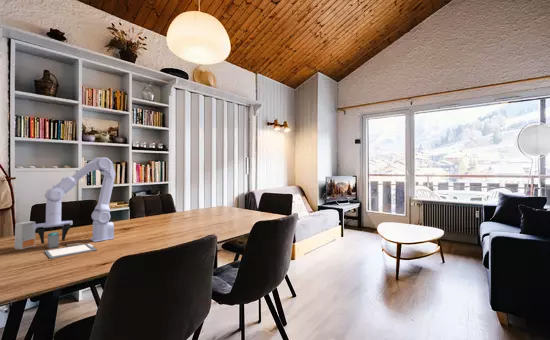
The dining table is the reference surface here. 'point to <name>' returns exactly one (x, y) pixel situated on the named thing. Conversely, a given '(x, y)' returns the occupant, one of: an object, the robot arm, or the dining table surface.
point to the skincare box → (24, 235)
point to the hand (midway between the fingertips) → (53, 241)
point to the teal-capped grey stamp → (53, 240)
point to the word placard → (73, 244)
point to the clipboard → (69, 250)
